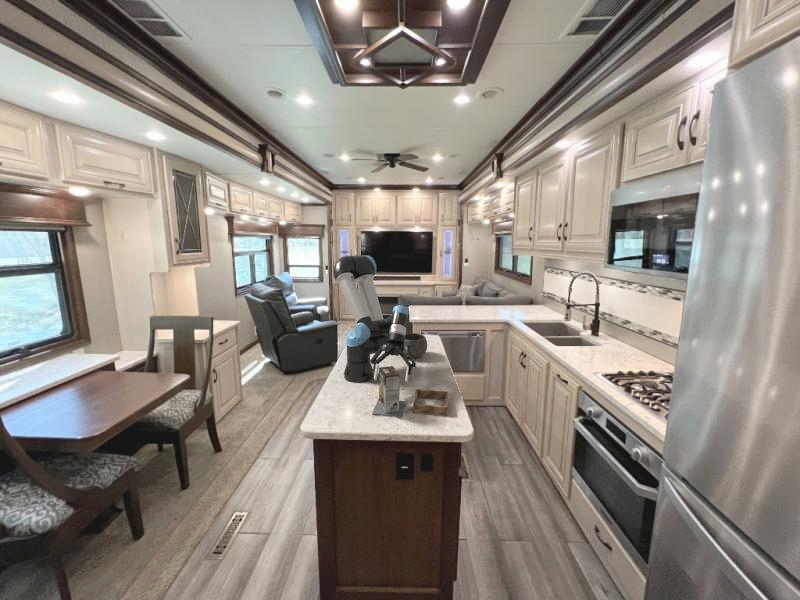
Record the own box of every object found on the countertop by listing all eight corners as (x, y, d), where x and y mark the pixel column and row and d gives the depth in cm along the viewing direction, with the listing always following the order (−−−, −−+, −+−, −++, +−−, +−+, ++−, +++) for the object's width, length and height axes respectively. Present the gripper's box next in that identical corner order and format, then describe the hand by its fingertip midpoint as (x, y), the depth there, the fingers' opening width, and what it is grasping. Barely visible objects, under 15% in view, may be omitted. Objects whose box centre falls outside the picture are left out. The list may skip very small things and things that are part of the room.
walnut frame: (412, 412, 131) (413, 404, 131) (416, 396, 145) (416, 389, 144) (447, 415, 129) (447, 407, 129) (447, 398, 143) (447, 391, 142)
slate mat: (372, 414, 130) (372, 413, 129) (378, 400, 141) (378, 398, 141) (401, 417, 128) (401, 415, 128) (405, 402, 140) (405, 401, 139)
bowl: (425, 363, 183) (426, 341, 181) (394, 361, 186) (394, 340, 184) (428, 352, 201) (428, 332, 198) (399, 350, 203) (399, 331, 201)
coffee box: (378, 402, 138) (378, 367, 135) (392, 400, 140) (392, 365, 137) (384, 413, 129) (384, 376, 126) (399, 410, 132) (400, 373, 128)
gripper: (369, 330, 148) (360, 374, 137) (423, 334, 145) (419, 379, 133) (372, 338, 155) (364, 381, 143) (424, 341, 151) (420, 385, 139)
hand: (390, 380), depth 138 cm, fingers open, 13 cm apart
